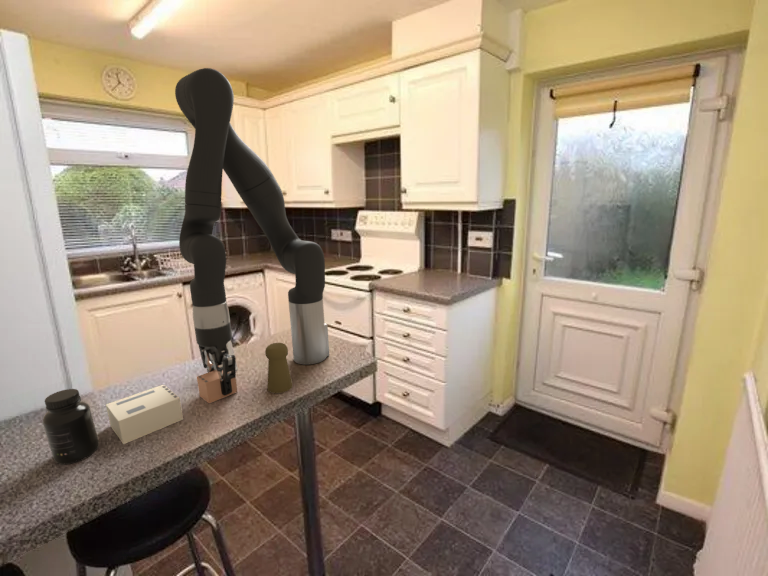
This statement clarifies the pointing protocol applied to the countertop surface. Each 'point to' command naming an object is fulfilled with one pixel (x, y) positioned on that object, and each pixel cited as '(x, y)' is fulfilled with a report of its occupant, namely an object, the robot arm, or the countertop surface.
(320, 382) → the countertop surface
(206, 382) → the orange box
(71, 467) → the countertop surface
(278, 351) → the brown pawn
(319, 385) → the countertop surface
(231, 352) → the salt shaker
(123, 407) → the cream box
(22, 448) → the countertop surface
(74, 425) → the supplement bottle
